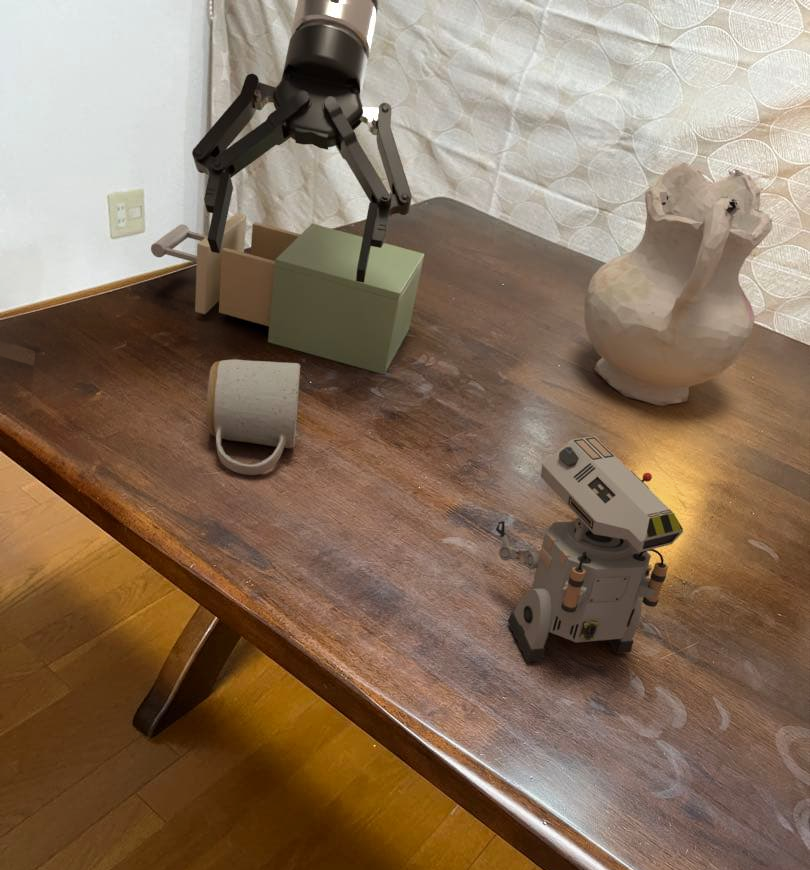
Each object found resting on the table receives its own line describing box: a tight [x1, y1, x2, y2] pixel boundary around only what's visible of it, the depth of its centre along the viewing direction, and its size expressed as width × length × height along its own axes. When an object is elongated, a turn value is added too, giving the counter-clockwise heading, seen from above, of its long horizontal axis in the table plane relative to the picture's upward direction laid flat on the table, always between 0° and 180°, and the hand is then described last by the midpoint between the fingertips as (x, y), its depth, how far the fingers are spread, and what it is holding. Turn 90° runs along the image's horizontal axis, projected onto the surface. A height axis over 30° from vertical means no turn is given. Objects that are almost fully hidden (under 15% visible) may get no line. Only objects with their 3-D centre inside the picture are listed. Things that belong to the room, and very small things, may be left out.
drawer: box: [150, 212, 302, 327], centre depth 98 cm, size 19×11×8 cm, turn 77°
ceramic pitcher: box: [583, 161, 773, 407], centre depth 98 cm, size 22×20×25 cm
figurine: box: [495, 435, 684, 662], centre depth 64 cm, size 9×12×15 cm
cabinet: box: [267, 223, 425, 375], centre depth 98 cm, size 14×13×10 cm
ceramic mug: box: [205, 359, 301, 476], centre depth 78 cm, size 11×8×8 cm
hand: (287, 261), depth 79 cm, fingers open, 13 cm apart
